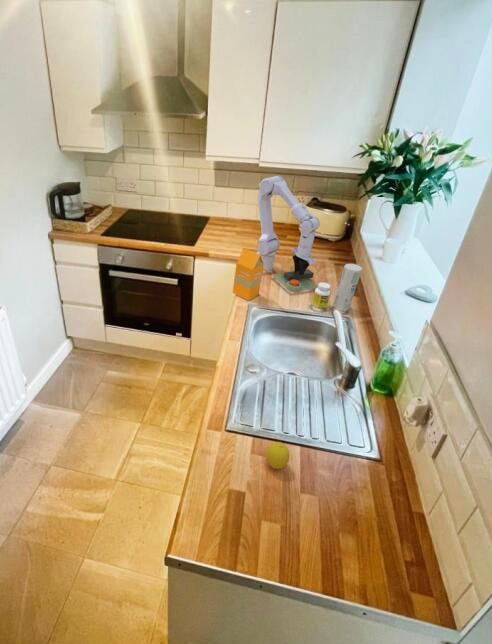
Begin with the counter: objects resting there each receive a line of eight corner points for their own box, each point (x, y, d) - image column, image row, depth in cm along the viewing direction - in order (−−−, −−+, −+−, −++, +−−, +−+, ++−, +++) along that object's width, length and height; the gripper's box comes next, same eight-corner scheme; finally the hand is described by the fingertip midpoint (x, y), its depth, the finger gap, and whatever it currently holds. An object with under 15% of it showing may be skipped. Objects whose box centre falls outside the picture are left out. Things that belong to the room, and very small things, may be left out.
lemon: (261, 457, 104) (266, 436, 99) (282, 456, 104) (288, 435, 100) (267, 475, 99) (272, 455, 95) (288, 474, 99) (295, 454, 95)
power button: (288, 283, 179) (289, 279, 178) (295, 282, 180) (295, 278, 179) (292, 287, 176) (293, 283, 175) (299, 286, 178) (300, 282, 177)
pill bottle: (318, 313, 165) (324, 289, 159) (307, 306, 169) (313, 283, 163) (328, 310, 167) (335, 286, 161) (318, 303, 172) (324, 280, 166)
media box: (271, 278, 189) (272, 272, 187) (297, 275, 194) (298, 268, 192) (290, 295, 177) (291, 288, 175) (317, 291, 181) (319, 284, 179)
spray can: (344, 316, 164) (358, 272, 153) (329, 310, 167) (342, 266, 156) (350, 310, 168) (364, 267, 157) (335, 304, 171) (348, 262, 160)
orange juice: (243, 287, 181) (249, 246, 170) (258, 294, 176) (266, 252, 165) (232, 292, 176) (237, 250, 165) (248, 300, 171) (255, 257, 160)
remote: (288, 281, 181) (289, 276, 179) (283, 277, 184) (284, 272, 183) (312, 277, 185) (314, 272, 183) (307, 273, 188) (308, 268, 187)
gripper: (323, 250, 171) (315, 278, 178) (303, 238, 182) (297, 265, 190) (309, 252, 169) (302, 280, 176) (290, 239, 180) (284, 266, 188)
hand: (299, 272), depth 183 cm, fingers closed on remote, 3 cm apart
